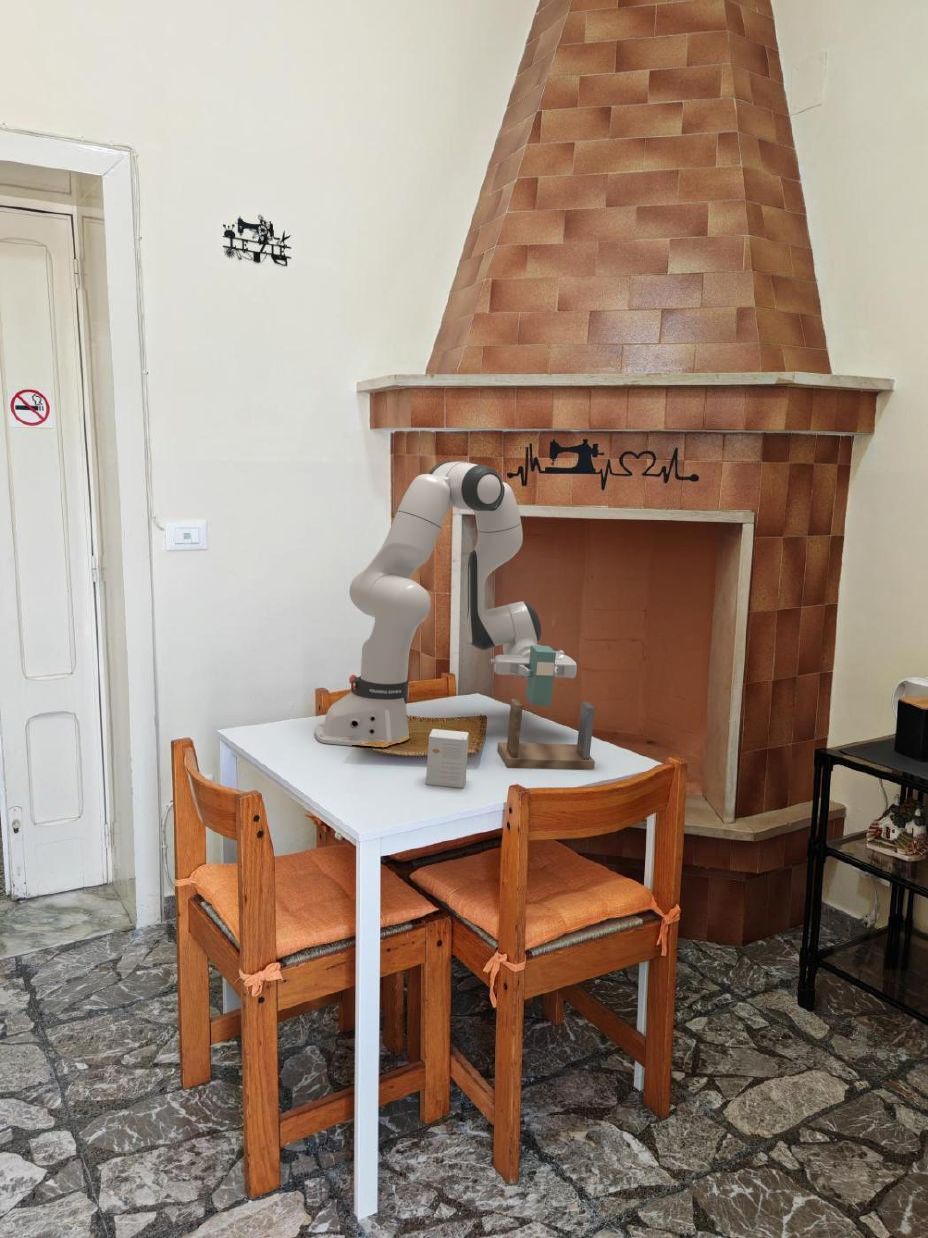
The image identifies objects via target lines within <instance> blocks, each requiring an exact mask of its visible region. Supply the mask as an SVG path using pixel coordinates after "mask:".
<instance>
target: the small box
mask: <svg viewBox="0 0 928 1238" xmlns="http://www.w3.org/2000/svg"><path fill="white" fill-rule="evenodd" d="M469 734H470V733H469V732H467V731H461V730H459V731H457V730H449V729H448V730H447V729H437V728H432V729H431V732H430V733H429V735H428V744H427V759H426V774H425V775H426V776H425V784H426V785H429V786H437V787H438V786H440V787H448V788H449V787H450V788H460V789H461V788H462V789H464V786H465V784H466V783H465V782H466V779H467V768H468V767H467V766H468V765H467V764H468V753H469V752H468V751H469V737H470V736H469Z"/></svg>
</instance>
